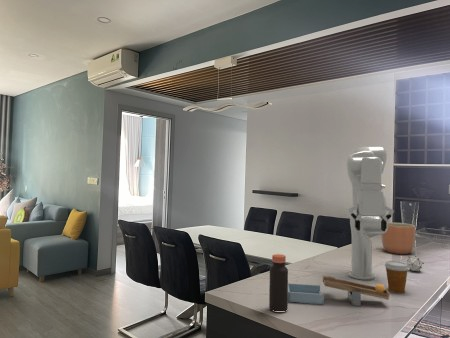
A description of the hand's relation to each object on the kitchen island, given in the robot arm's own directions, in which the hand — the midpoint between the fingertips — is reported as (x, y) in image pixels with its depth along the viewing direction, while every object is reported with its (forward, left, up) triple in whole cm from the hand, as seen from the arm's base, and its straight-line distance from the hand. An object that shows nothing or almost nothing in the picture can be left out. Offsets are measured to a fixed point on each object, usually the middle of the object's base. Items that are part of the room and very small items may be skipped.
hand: (370, 230), depth 137 cm
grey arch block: (+1, -6, -29) cm, 29 cm away
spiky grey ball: (-53, +37, -29) cm, 71 cm away
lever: (-2, -6, -25) cm, 26 cm away
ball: (+1, +4, -23) cm, 23 cm away
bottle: (+15, -36, -29) cm, 49 cm away
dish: (+1, -26, -29) cm, 38 cm away
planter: (-102, +45, -29) cm, 115 cm away
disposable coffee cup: (-17, +16, -29) cm, 37 cm away
